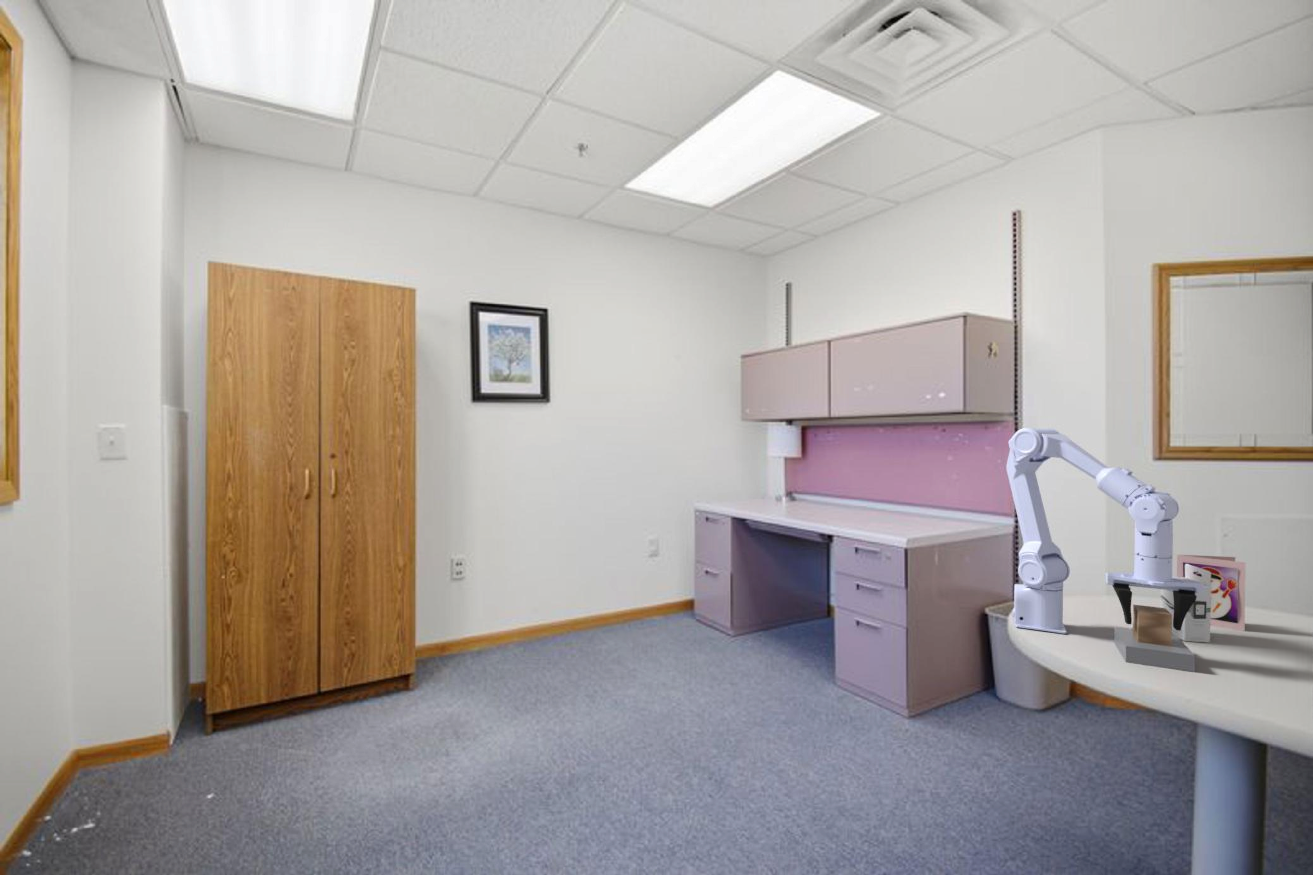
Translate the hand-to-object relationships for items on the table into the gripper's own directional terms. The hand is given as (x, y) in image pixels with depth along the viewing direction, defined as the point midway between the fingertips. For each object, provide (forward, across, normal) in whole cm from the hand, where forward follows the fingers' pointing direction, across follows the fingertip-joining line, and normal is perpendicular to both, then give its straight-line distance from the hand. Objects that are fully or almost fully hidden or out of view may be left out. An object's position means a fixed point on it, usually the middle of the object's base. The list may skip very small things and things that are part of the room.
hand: (1152, 625), depth 117 cm
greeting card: (+6, +17, +34) cm, 38 cm away
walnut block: (+3, 0, 0) cm, 3 cm away
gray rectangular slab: (+6, 0, 0) cm, 6 cm away
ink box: (+6, +9, +19) cm, 22 cm away
